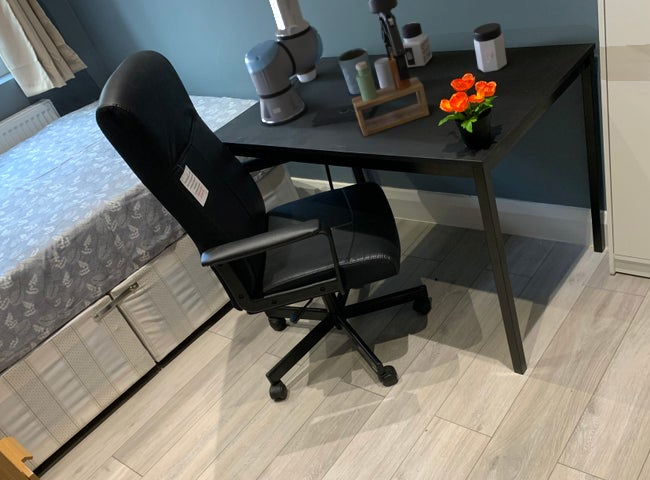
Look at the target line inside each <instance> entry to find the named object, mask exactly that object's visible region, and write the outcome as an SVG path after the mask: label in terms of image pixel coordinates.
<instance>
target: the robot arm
mask: <svg viewBox="0 0 650 480" xmlns="http://www.w3.org/2000/svg"><path fill="white" fill-rule="evenodd" d="M269 2H270V6H271V9H272V12H273V15H274V19H275V22H276V26H277V28H276V30H275V33H274V34H275V36H276V40H277V41H276V40H275V39H267V40H265V41H262V42H259V43H258V44H256V45H255V46H253V47H251V48H250V49H249V50H248V51H247V53H246V54H245V57H244V60H245V61H244V62H245V65H246V68H247V72H248V73H249V76H250V78H251V80H252V83H253V85H254V89H255V91H256V93H257V95H258V98H259V103H260V116H261V120H262V123H263V125H266V126H270V127H271V126H280V125H283V124H287V123H289V122H291V121H294V120H296V119H297V118H299V117H300V116H302V115H303V114H304V113H305V112H306V105H305V103H304V100H303V99H302V98H301V97H300V95H299V94H298V93H297V92H296V90H295V89H294V86H295V85H296V84H297V82H298V80H299V78H298V77H297V75H296V74H297V73H299V72H301V71H303V70H304V69H306V68H308V67H311V66H312V65H314V64H315V65H316V63H317V62H320V60H321V58H322V56H323V52H324V46H323V45H324V44H323V40H322V37H321V35H320V33H318V30H317V28H316V27H315V26H312V25H310V22H309V21H307V20H306V19H304V17H303V13H302V10H301V6H300V2H299V0H269ZM367 3H368V7H369V11H370V14H372V15H373V14H374V15H377V19H378V23H379V28H380V35H381V39H382V40H383V43H384V47H385V51H386V55H387V58H388V59H389V58H390V57H391V56H390V52H389V51H388V45H390V44H391V45H392V48H393V51H394V54H395V55H393V59H395V61H396V65H397V69H398V74H399V78H400V81H403V80H405V79H408V78H410V79H411V75H410V72H409V67H407V63H406V59H405V54H406V52H405V50H404V47H403V40H402V37H401V33H400V31H399V27H398V23H397V18H396V16H395V15H394V13H393V12H392V10H393V9H395V8H396V7H397V6H398V0H367ZM399 50H400V51H399ZM398 51H399V52H398ZM294 76H295V78H294V80H293V82H291V77H292V78H293V77H294Z"/></svg>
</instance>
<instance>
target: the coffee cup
mask: <svg viewBox="0 0 650 480" xmlns="http://www.w3.org/2000/svg"><path fill="white" fill-rule="evenodd" d="M296 75H297V77H298V81H300V82H301V83H308V82H311V81H313V80H315V79H316V77H317V72H316V63H315V64H314V65H312V66H311V67H308V68H306V69H304V70H303V71H301V72H299V73H297V74H295V76H296Z"/></svg>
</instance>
